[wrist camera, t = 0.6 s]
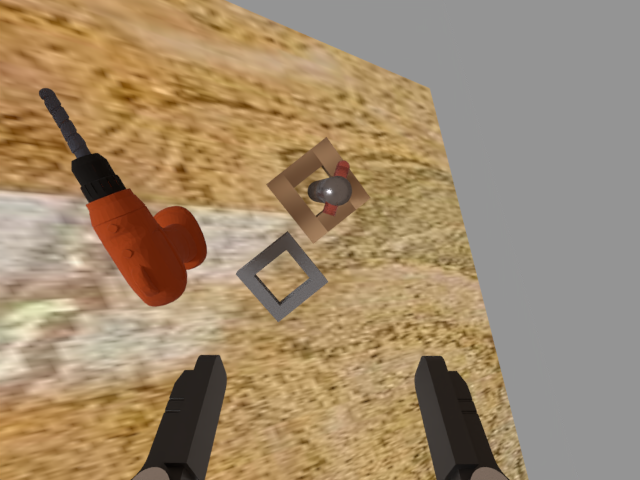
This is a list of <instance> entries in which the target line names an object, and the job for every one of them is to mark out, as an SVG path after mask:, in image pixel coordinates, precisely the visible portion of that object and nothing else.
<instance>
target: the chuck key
mask: <svg viewBox="0 0 640 480" xmlns="http://www.w3.org/2000/svg"><path fill="white" fill-rule="evenodd" d="M349 169H350V165H349V163H348V162H347V161H345V160H341V161H339V162H338V164H337V166H336V169H335V172H334V176H333V177H329V178H326V179H322V180H318V181H314V182H312V183H311V184H310V185H309V187H308V191H307V192H308V196H309V198H310V199H311V200H312V201H315V202H319V203H324V204H325V205H324V209H323V212H322V213H325V214H329V215H332V216H335V215H336V211H337V208H338V206H340V205H343V204H345V203H347V202H348V201H349V199H350V197H351V195H352V187H351V184H350V182H349V181H348V180H347V176H348V172H349Z"/></svg>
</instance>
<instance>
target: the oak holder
mask: <svg viewBox="0 0 640 480" xmlns="http://www.w3.org/2000/svg"><path fill="white" fill-rule="evenodd" d="M341 160H343V159H342V158H341V156H340V155H339V153H338V152H337V151H336V149H335V148H334V146H333V145H332V144H331V142H330V141H329V140H328V138H327V137H326V138H324V139H323V140H322V141H321V142H319V143H318V144H317V145H316V146H314V147H313V148H312V149H310V150H309V151H308V152H307V153H305V154H304V155H303V156H302V157H300V158H299V159H298V160H296V161H295V162H294V163H293V164H291V165H290V166H289V167H288V168H286V169H285V170H284V171H283V172H281V173H280V174H279V175H277V176H276V177H275V178H274V179H272V180H271V181H270V182H269V183H267V184H266V185H267V186H268V188H269V189H270V190H271V191H272V193H273V194H274V195H275V196H276V198H277V199H278V200H279V201H280V203H281V204H282V205H283V206H284V208H285V209H286V210H287V212H288V213H289V214H290V215H291V217H292V218H293V219H294V220H295V222H296V223H297V224H298V225H299V227H300V228H301V229H302V230H303V232H304V233H305V234H306V235H307V237H308V238H309V239H310V240H311V242H312V243H313V244H314V243H315V242H316V241H318V240H319V239H320V238H321V237H323V236H324V235H325V234H326V233H328V232H329V231H330V230H331V229H333V228H334V227H335V226H336V225H338V224H339V223H340V222H341V221H343V220H344V219H345V218H346V217H348V216H349V215H350V214H351V213H353V212H354V211H355V210H356V209H358V208H359V207H360V206H361V205H363V204H364V203H365V202H366V201H368V200H369V199H370V196H369V195H368V194H367V192H366V191H365V189H364V188H363V187H362V185H361V184H360V182H359V181H358V180H357V178H356V177H355V176H354V174H353V173H352V171H351V170H350V169H349V172H348V176H347V180H348V181H349V182H350V184H351V187H352V195H351V197H350V199H349V201H348V202H347V203H345V204H343V205H340V206H338V208H337V211H336V215H335V216H332V215H329V214H325V213H322V212H323V210H322V211H321V212H320V213H318V214H317V215H316V216H315V215H314V213H313V212H312V211H311V209H310V208H309V207H308V206H307V204H306V203H305V202H304V200H303V199H302V198H301V197H300V195H299V194H298V193H297V191H296V190H295V189H294V188H295V187H296V186H297V185H298V184H300V183H301V182H302V181H304V180H305V179H306V178H307V177H309V176H310V175H311V174H312V173H314V172H315V171H316V170H317V169H319V168H320V167H322V168H323V170H324V171H325V172H326V174H327V175H328V176H329V177H333V176H334V172H335V169H336V166H337V164H338V162H339V161H341Z"/></svg>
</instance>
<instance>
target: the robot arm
mask: <svg viewBox="0 0 640 480" xmlns="http://www.w3.org/2000/svg"><path fill="white" fill-rule="evenodd" d="M414 383H415V390H416V395H417V399H418V403H419V407H420V412H421V416H422V420H423V424H424V429H425V433H426V437H427V441H428V446H429V450H430V454H431V458H432V463H433V467H434V471H435V475H436V480H510V479H509V478H507V477H506V476H505V474H504V473H503V472H502V471H501V469H500V468H499V466H498V465H497V463H496V461H495V458H494V456H493V453H492V450H491V448H490V445H489V442H488V439H487V437H486V434H485V431H484V429H483V426H482V423H481V420H480V418H479V415H478V414H477V410H476V407H475V404H474V402H473V401H472V396H471V393H470V391H469V388H468V385H467V383H466V382H465V381H464V379H463V378H462V377H461V375H460V374H459V373H458V372H457V371H448V369H447V366H446V363H445V360H444V358H443V357H442V356H421V359H420V362H419V364H418V367H417V370H416V373H415V378H414ZM226 385H227V374H226V371H225V368H224V365H223V362H222V360H221V357H220V355H200V356H199V357H198V359H197V361H196V364H195V367H194V370H184V371H183V373H182V374H181V375H180V377H179V378H178V379H177V380H176V382H175V383H174V386H173V389H172V392H171V394H170V397H169V401H168V402H167V405H166V408H165V412H164V413H163V416H162V419H161V422H160V424H159V427H158V430H157V433H156V435H155V438H154V441H153V444H152V446H151V449H150V452H149V455H148V457H147V459H146V462H145V463H144V465H143V467H142V468H141V470H140V471H139V472H138V473H137V474H136V475H135V476H134V477H133V478H132V479H131V480H205V477H206V473H207V468H208V464H209V460H210V456H211V451H212V447H213V443H214V438H215V434H216V430H217V425H218V421H219V417H220V413H221V408H222V404H223V400H224V395H225V391H226Z"/></svg>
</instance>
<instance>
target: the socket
mask: <svg viewBox="0 0 640 480" xmlns="http://www.w3.org/2000/svg"><path fill="white" fill-rule="evenodd" d="M286 250H287V251H288V252H289V254H290V255H291V256H292V257H293V259H294V260H295V261H296V262H297V263H298V265H299V266H300V267H301V268H302V269H303V271H304V272H305V273H306V274H307V275H308V277H309V279H307V280H306V281H305V282H304V283H302V284H301V285H300V286H299V287H297V288H296V289H295V290H294V291H292V292H291V293H290V294H289V295H287V296H286V297H285V298H284V299H282V300H281V301H279V300H278V299H277V298H276V297H275V296H274V295H273V293H272V292H271V291H270V290H269V289H268V288H267V287H266V285H265V284H264V283H263V282H262V281H261V280H260V278H259V277H258V276H257V275H256V274H257V273H258V272H259V271H260V270H262V269H263V268H264V267H266V266H267V265H268V264H269V263H271V262H272V261H273V260H274V259H276V258H277V257H278V256H279V255H281V254H282V253H283V252H284V251H286ZM236 275H237V276H238V278H239V279H240V280H241V281H242V282H243V283H244V284H245V285H246V287H247V288H248V289H249V290H250V291H251V292H252V293H253V295H254V296H255V297H256V298H257V299H258V300H259V301H260V302H261V304H262V305H263V306H264V307H265V308H266V309H267V310H268V311H269V313H270V314H271V315H272V316H273V317H274V318H275V319H276V320H277V322H279V321H281V320H282V319H283V318H284V317H286V316H287V315H288V314H289V313H291V312H292V311H293V310H294V309H295V308H297V307H298V306H299V305H300V304H302V303H303V302H304V301H305V300H307V299H308V298H309V297H310V296H312V295H313V294H314V293H315V292H317V291H318V290H319V289H320V288H322V287H323V286H324V285H325V284H327V283H328V281H327V279H326V278H325V276H324V275H323V274H322V273H321V272H320V270H319V269H318V268H317V267H316V265H315V264H314V263H313V262H312V260H311V259H310V258H309V257H308V255H307V254H306V253H305V252H304V251H303V249H302V248H301V247H300V246H299V244H298V243H297V242H296V241H295V239H294V238H293V237H292V236H291V235H290V233H289V232H288V231H287V232H286V233H284V234H283V235H282V236H281V237H279V238H278V239H277V240H276V241H274V242H273V243H272V244H271V245H269V246H268V247H267V248H266V249H264V250H263V251H262V252H261V253H259V254H258V255H257V256H256V257H254V258H253V259H252V260H250V261H249V262H248V263H247V264H245V265H244V266H243V267H242V268H240V269H239V270H238V271H237V272H236Z"/></svg>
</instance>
